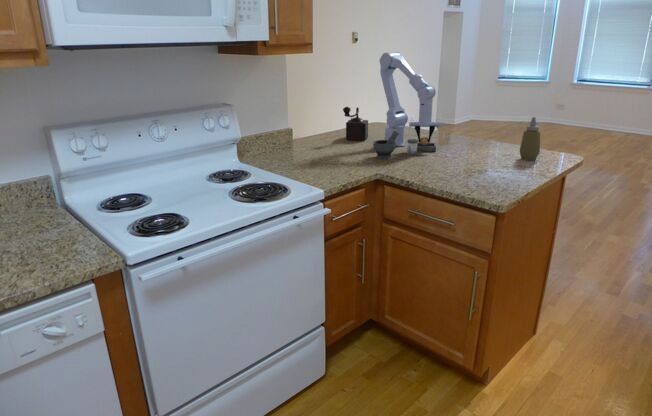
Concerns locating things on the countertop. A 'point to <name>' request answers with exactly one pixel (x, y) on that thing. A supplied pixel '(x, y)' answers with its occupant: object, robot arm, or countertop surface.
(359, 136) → the manual coffee grinder
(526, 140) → the squeeze bottle
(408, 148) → the shaker
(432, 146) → the dish
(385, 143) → the mortar and pestle
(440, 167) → the countertop surface
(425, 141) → the ball
